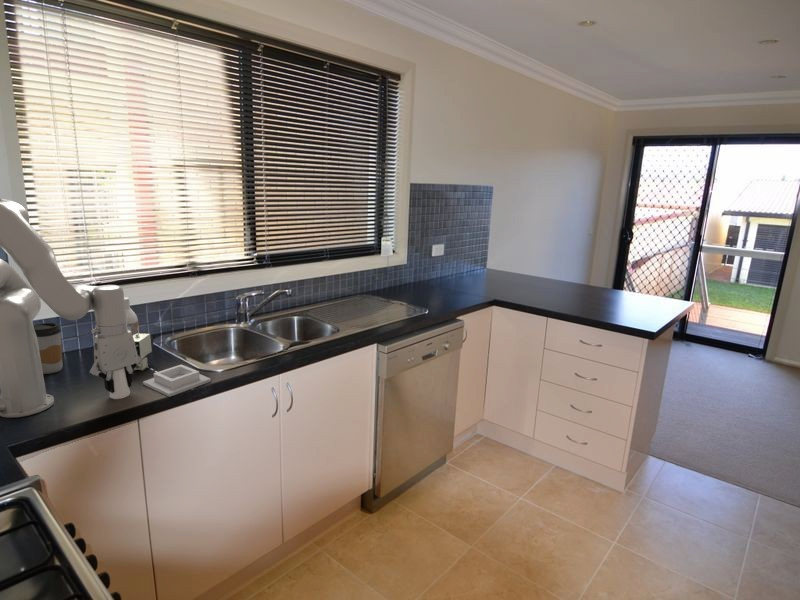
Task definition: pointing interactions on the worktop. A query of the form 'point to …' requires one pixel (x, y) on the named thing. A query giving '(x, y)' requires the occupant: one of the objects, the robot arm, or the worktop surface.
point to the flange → (176, 380)
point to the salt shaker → (119, 384)
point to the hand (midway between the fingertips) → (119, 387)
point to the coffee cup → (49, 346)
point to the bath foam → (131, 318)
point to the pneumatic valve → (143, 348)
